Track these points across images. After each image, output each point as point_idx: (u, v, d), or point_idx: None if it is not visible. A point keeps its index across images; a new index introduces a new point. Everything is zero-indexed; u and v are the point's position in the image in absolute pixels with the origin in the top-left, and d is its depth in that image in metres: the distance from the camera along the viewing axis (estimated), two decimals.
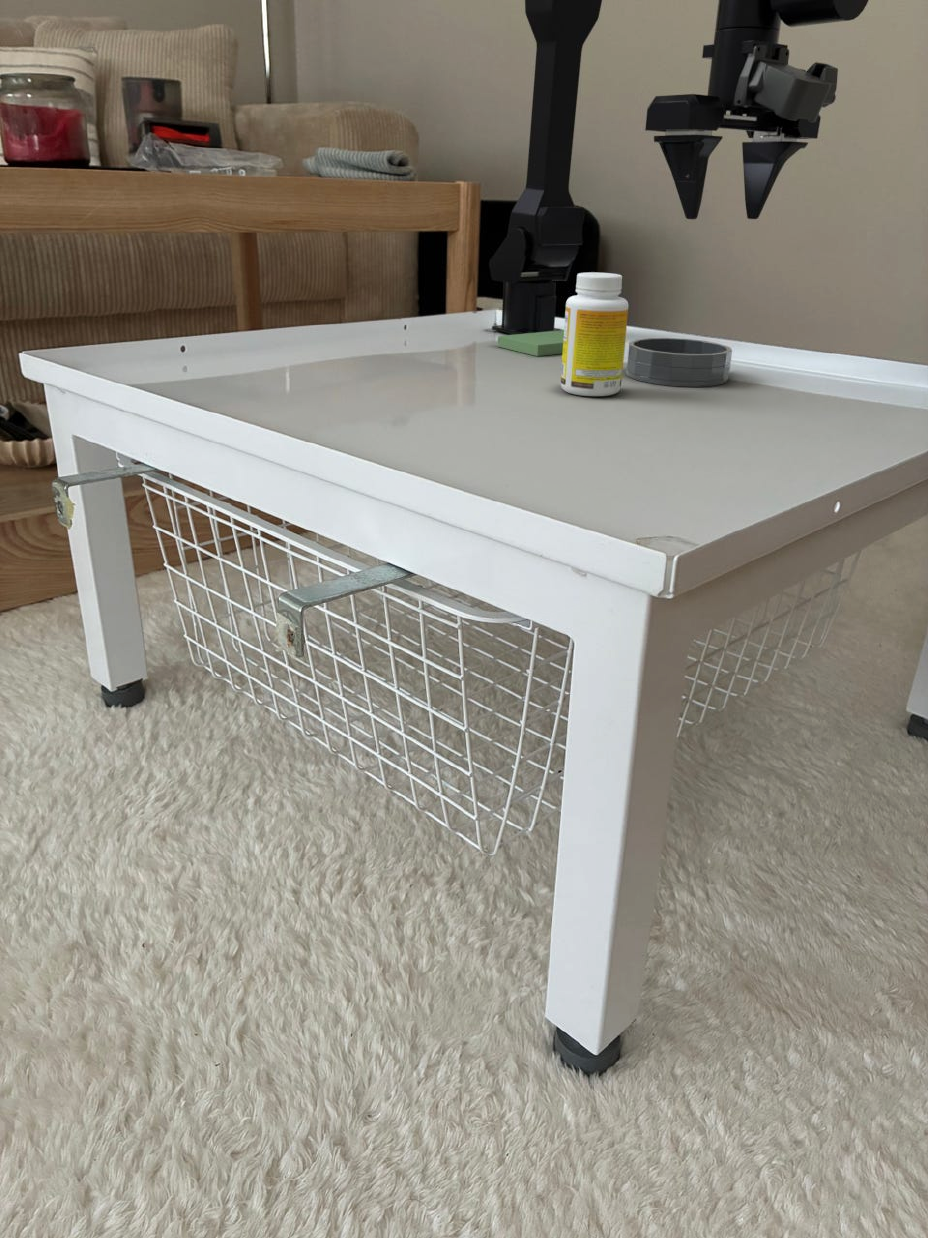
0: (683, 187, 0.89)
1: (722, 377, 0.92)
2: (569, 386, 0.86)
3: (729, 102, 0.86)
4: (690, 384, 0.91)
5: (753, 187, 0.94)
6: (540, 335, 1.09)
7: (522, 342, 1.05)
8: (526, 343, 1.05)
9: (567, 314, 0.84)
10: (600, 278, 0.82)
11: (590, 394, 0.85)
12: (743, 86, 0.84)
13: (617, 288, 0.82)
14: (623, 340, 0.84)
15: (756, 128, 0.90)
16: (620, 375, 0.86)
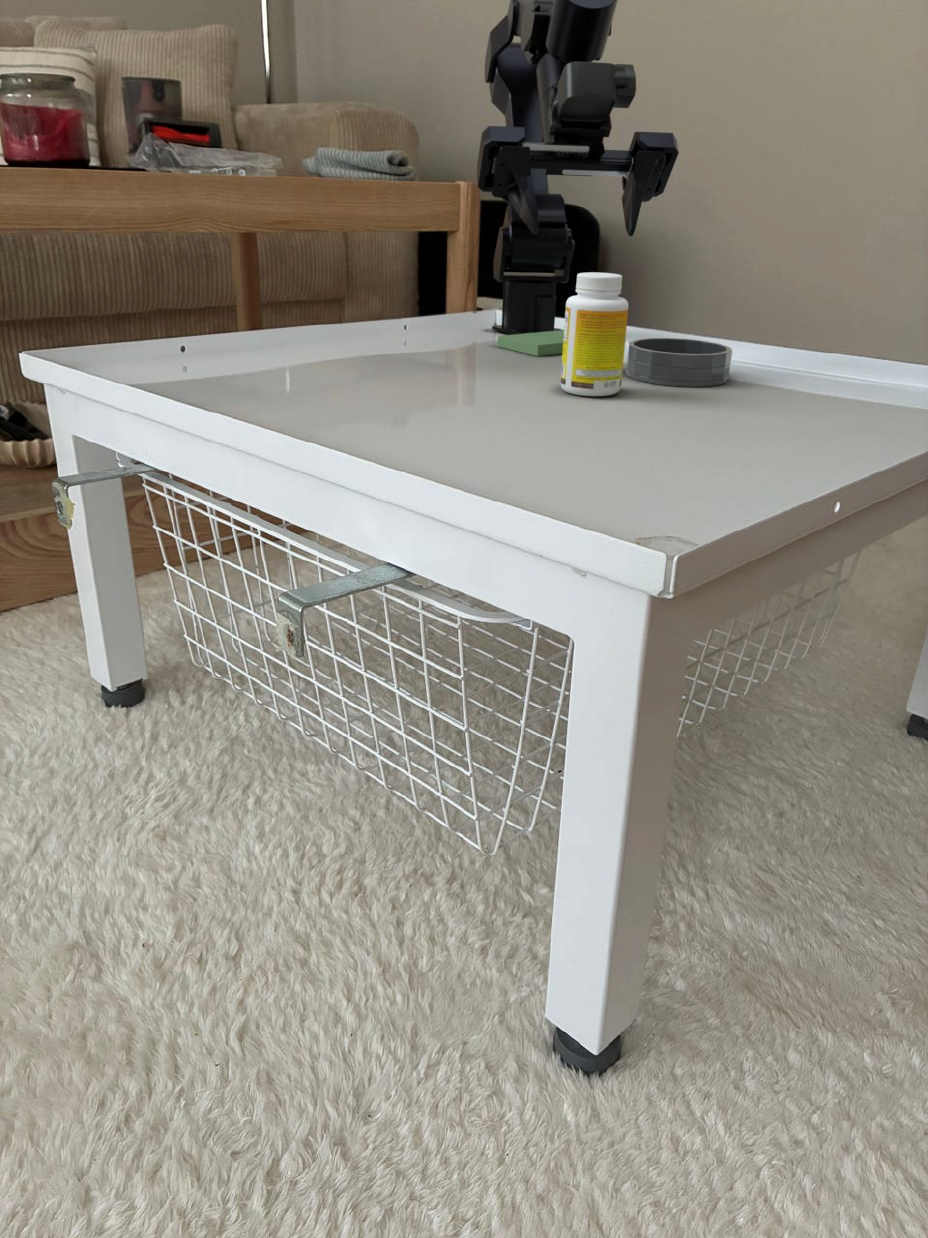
0: (522, 211, 0.90)
1: (722, 377, 0.92)
2: (569, 386, 0.86)
3: (550, 139, 0.91)
4: (690, 384, 0.91)
5: (627, 211, 0.91)
6: (540, 335, 1.09)
7: (522, 342, 1.05)
8: (526, 343, 1.05)
9: (567, 314, 0.84)
10: (600, 278, 0.82)
11: (590, 394, 0.85)
12: (549, 116, 0.90)
13: (617, 288, 0.82)
14: (623, 340, 0.84)
15: (604, 162, 0.91)
16: (620, 375, 0.86)
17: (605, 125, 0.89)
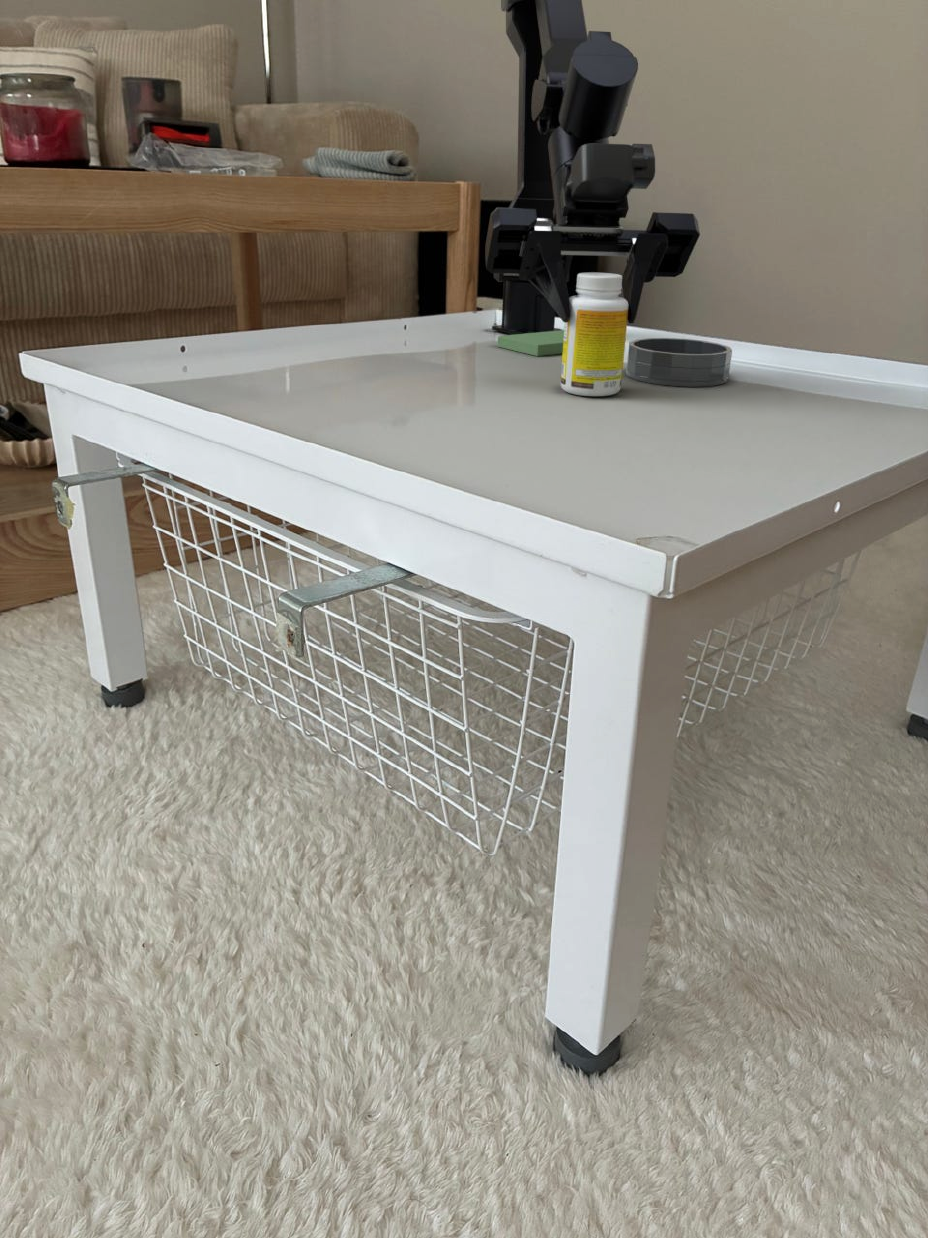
0: (552, 297, 0.84)
1: (722, 377, 0.92)
2: (569, 386, 0.86)
3: (563, 220, 0.85)
4: (690, 384, 0.91)
5: (627, 296, 0.85)
6: (540, 335, 1.09)
7: (522, 342, 1.05)
8: (526, 343, 1.05)
9: None
10: (600, 278, 0.82)
11: (590, 394, 0.85)
12: (562, 196, 0.84)
13: (617, 288, 0.82)
14: (623, 340, 0.84)
15: (621, 244, 0.86)
16: (620, 376, 0.86)
17: (622, 206, 0.84)
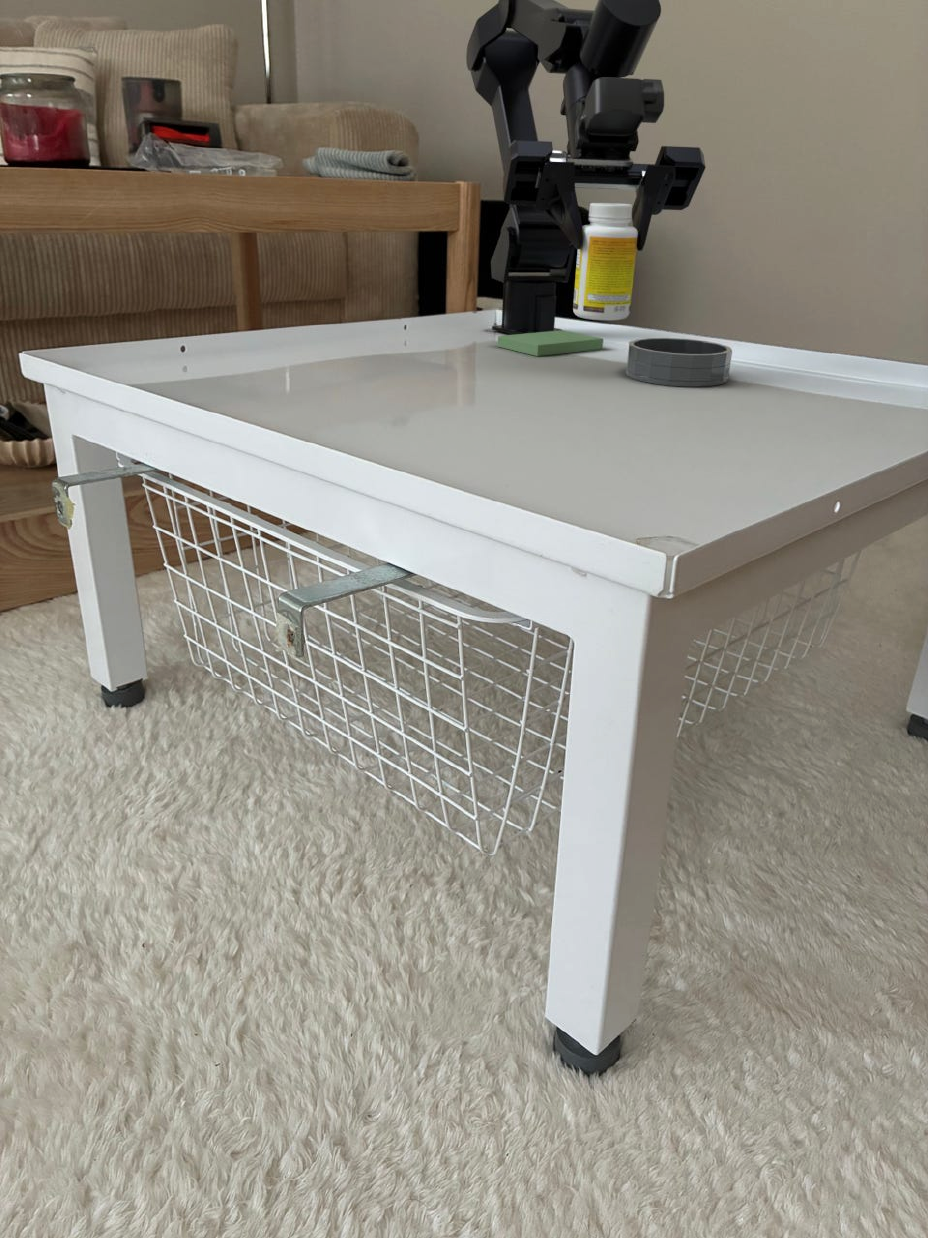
0: (566, 226, 0.90)
1: (722, 377, 0.92)
2: (582, 310, 0.91)
3: (576, 153, 0.91)
4: (690, 384, 0.91)
5: (636, 225, 0.91)
6: (540, 335, 1.09)
7: (522, 342, 1.05)
8: (526, 343, 1.05)
9: None
10: (611, 206, 0.87)
11: (601, 318, 0.91)
12: (576, 130, 0.90)
13: (627, 216, 0.88)
14: (632, 266, 0.90)
15: (631, 176, 0.91)
16: (629, 301, 0.91)
17: (632, 139, 0.89)
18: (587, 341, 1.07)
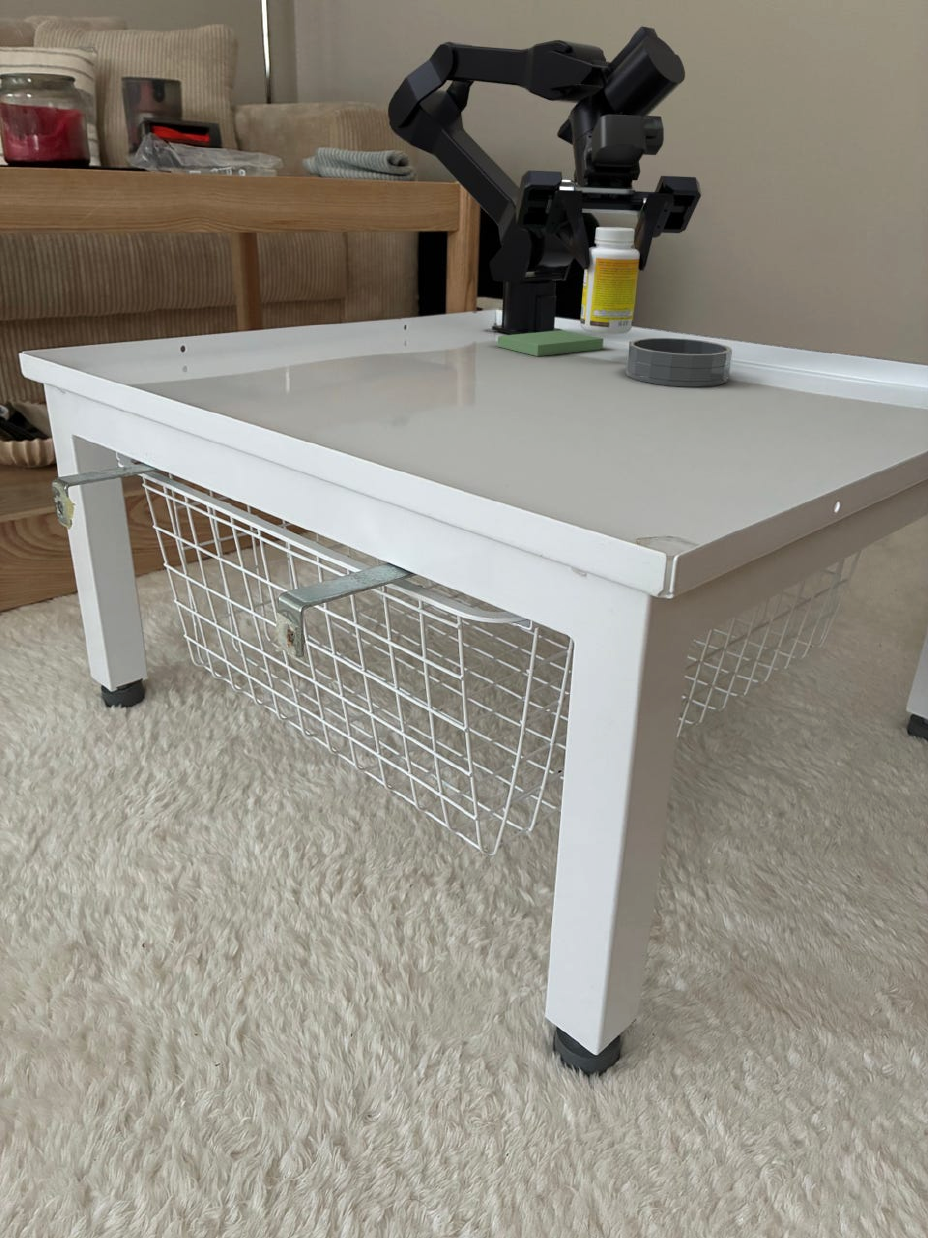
0: (574, 248, 0.99)
1: (722, 377, 0.92)
2: (588, 325, 1.00)
3: (583, 182, 0.99)
4: (690, 384, 0.91)
5: (638, 248, 0.99)
6: (540, 335, 1.09)
7: (522, 342, 1.05)
8: (526, 343, 1.05)
9: None
10: (616, 231, 0.96)
11: (606, 332, 0.99)
12: (583, 161, 0.98)
13: (630, 240, 0.96)
14: (635, 285, 0.98)
15: (633, 203, 1.00)
16: (631, 316, 1.00)
17: (634, 170, 0.98)
18: (587, 341, 1.07)
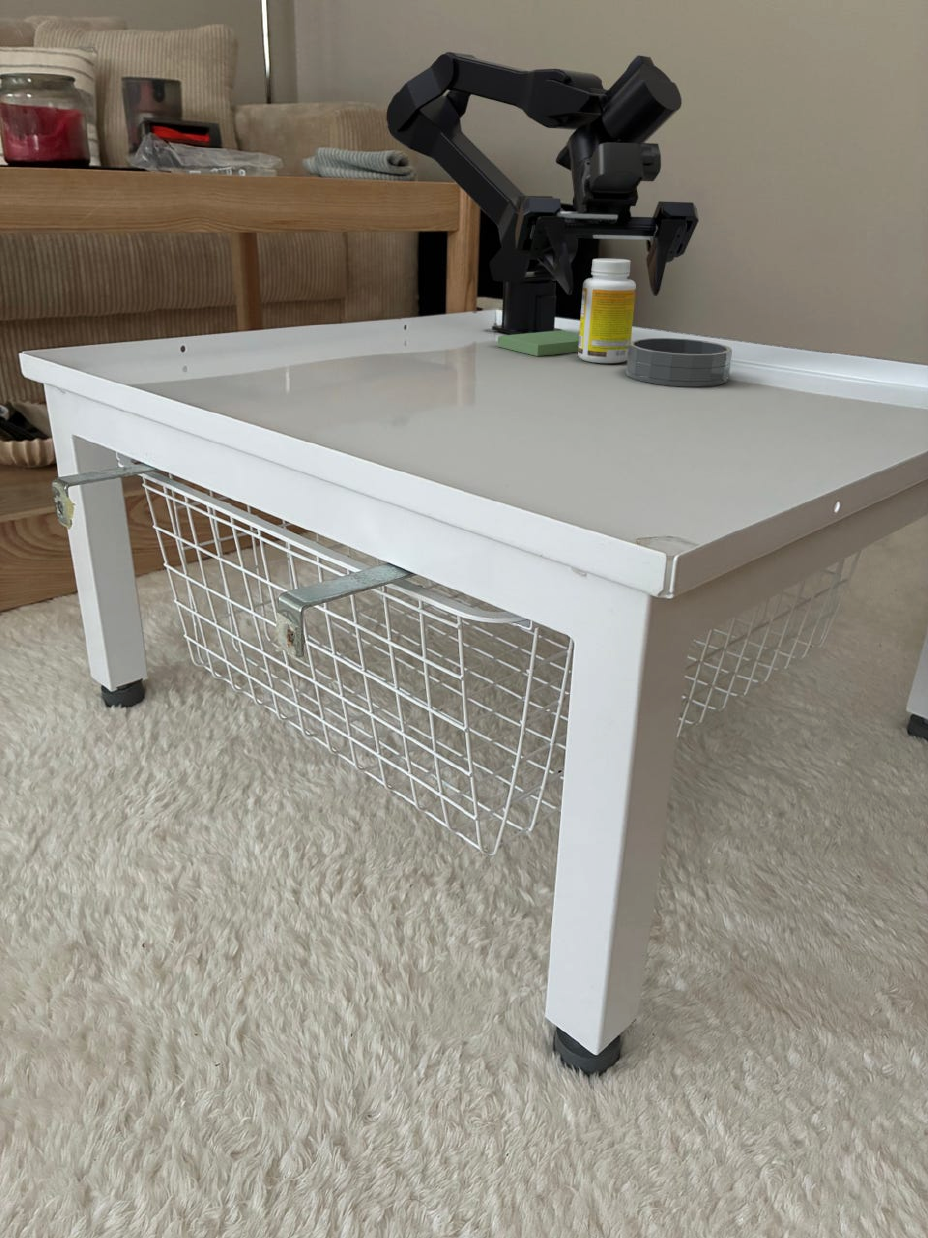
0: (557, 273, 0.99)
1: (722, 377, 0.92)
2: (586, 354, 1.01)
3: (582, 208, 1.00)
4: (690, 384, 0.91)
5: (652, 273, 1.00)
6: (540, 335, 1.09)
7: (522, 342, 1.05)
8: (526, 343, 1.05)
9: (584, 293, 0.99)
10: (612, 262, 0.97)
11: (603, 361, 1.00)
12: (581, 187, 0.99)
13: (626, 271, 0.98)
14: (631, 315, 1.00)
15: (631, 228, 1.01)
16: None
17: (632, 196, 0.99)
18: None
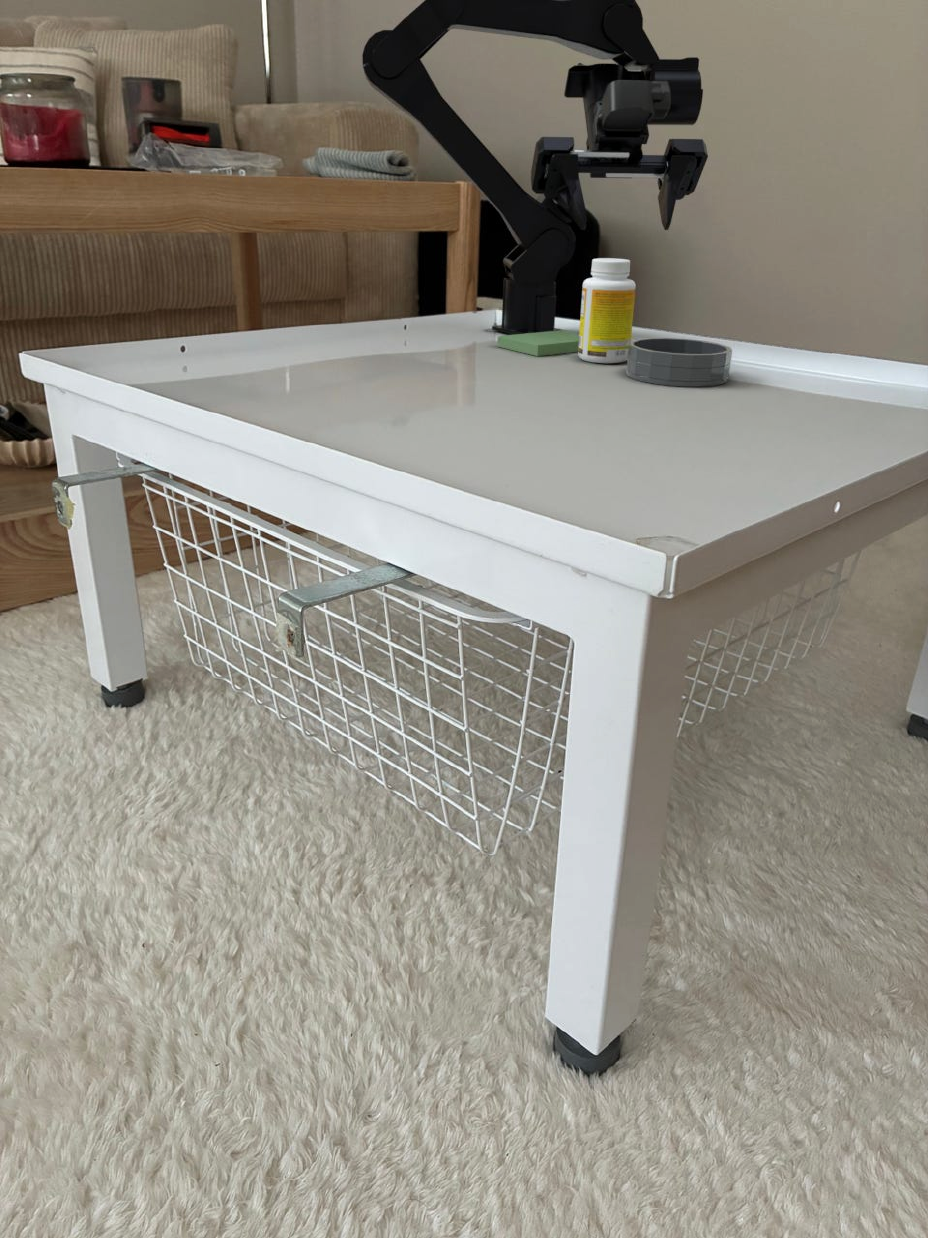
0: (571, 210, 1.03)
1: (722, 377, 0.92)
2: (586, 354, 1.01)
3: (595, 147, 1.04)
4: (690, 384, 0.91)
5: (663, 208, 1.04)
6: (540, 335, 1.09)
7: (522, 342, 1.05)
8: (526, 343, 1.05)
9: (584, 293, 0.99)
10: (612, 262, 0.97)
11: (603, 361, 1.00)
12: (594, 126, 1.03)
13: (626, 271, 0.98)
14: (631, 315, 1.00)
15: (643, 166, 1.05)
16: None
17: (643, 134, 1.03)
18: None
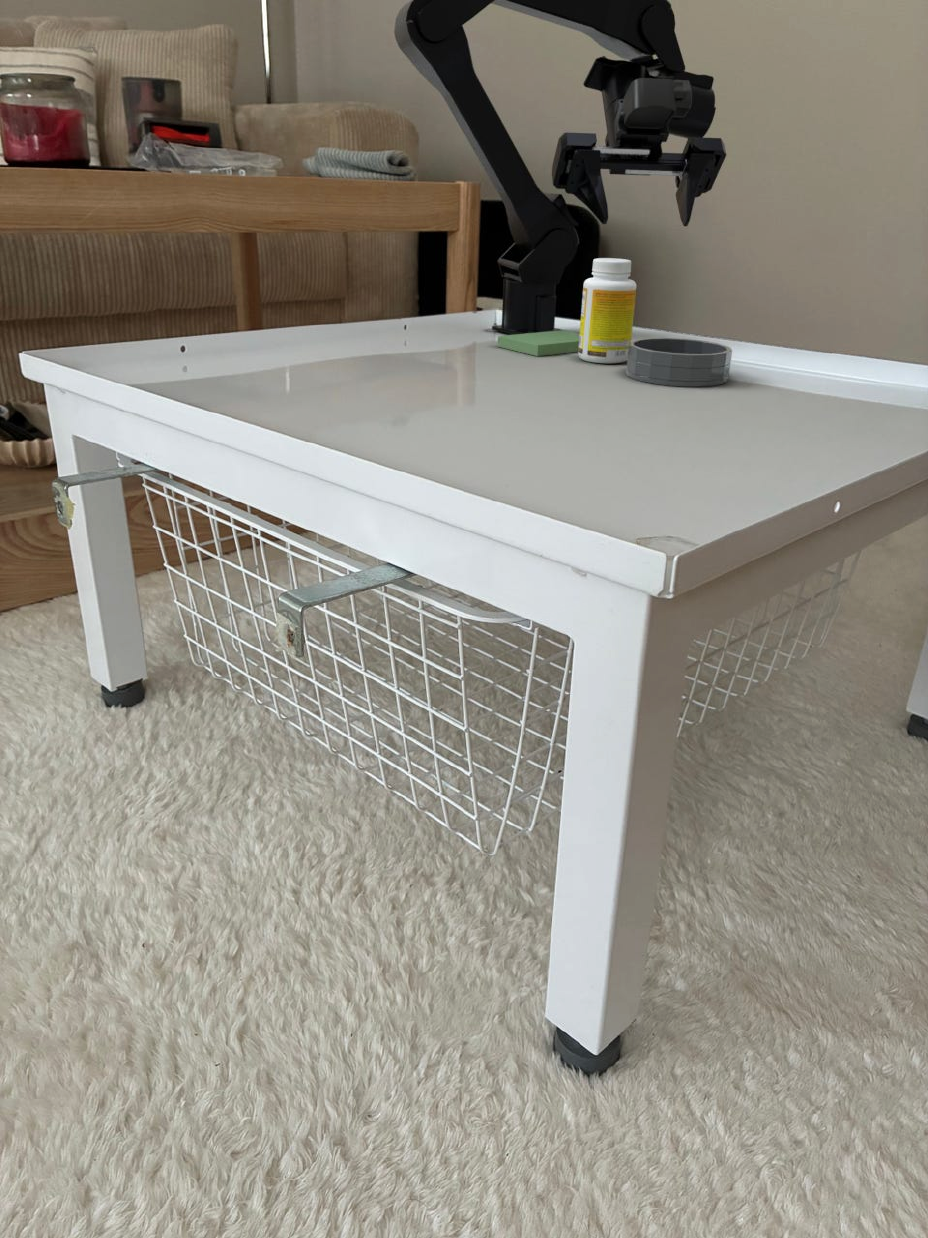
0: (593, 205, 1.05)
1: (722, 377, 0.92)
2: (586, 354, 1.01)
3: (616, 143, 1.06)
4: (690, 384, 0.91)
5: (682, 205, 1.06)
6: (540, 335, 1.09)
7: (522, 342, 1.05)
8: (526, 343, 1.05)
9: (584, 293, 0.99)
10: (613, 263, 0.97)
11: (603, 361, 1.00)
12: (615, 123, 1.05)
13: (627, 271, 0.98)
14: (632, 315, 1.00)
15: (662, 163, 1.07)
16: None
17: (664, 131, 1.05)
18: None
